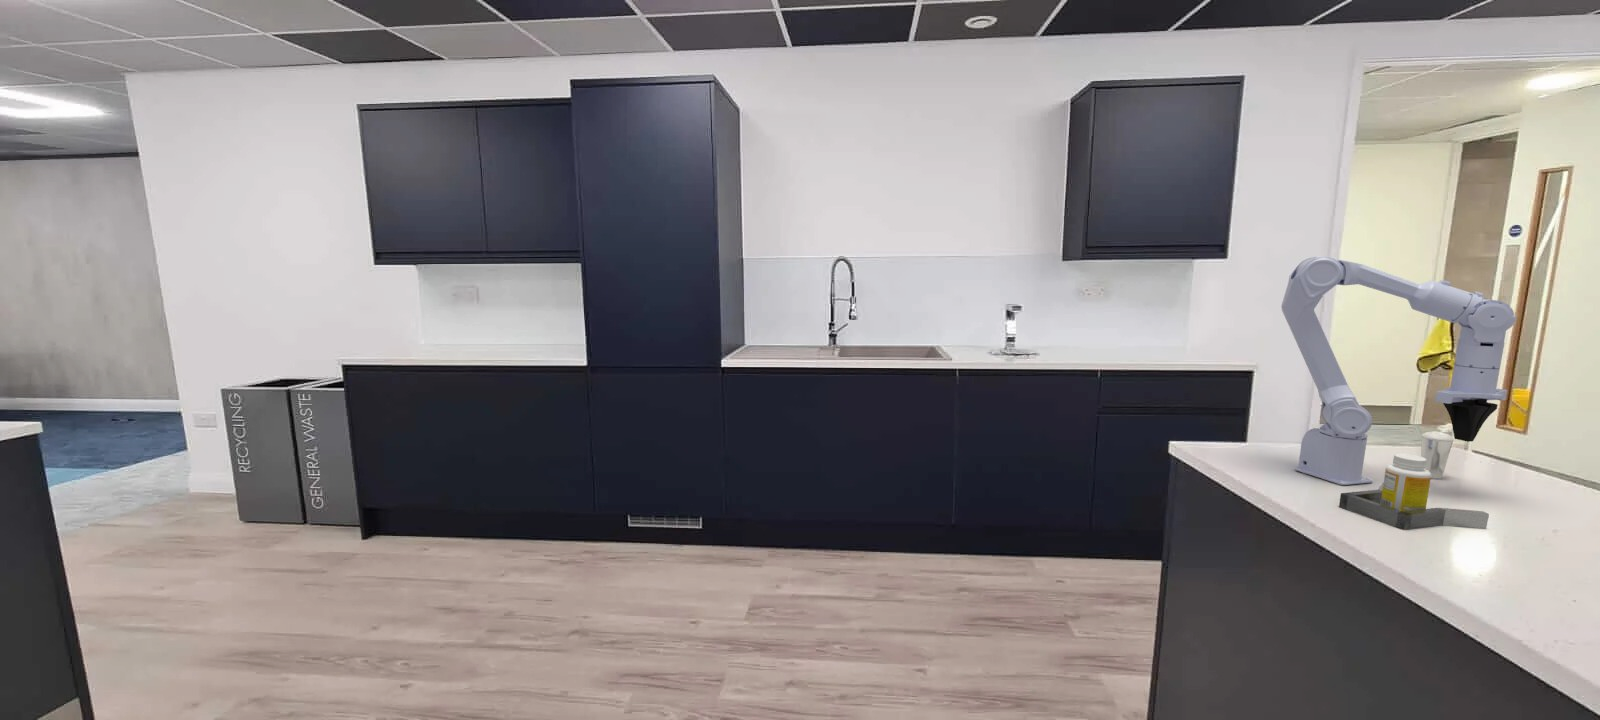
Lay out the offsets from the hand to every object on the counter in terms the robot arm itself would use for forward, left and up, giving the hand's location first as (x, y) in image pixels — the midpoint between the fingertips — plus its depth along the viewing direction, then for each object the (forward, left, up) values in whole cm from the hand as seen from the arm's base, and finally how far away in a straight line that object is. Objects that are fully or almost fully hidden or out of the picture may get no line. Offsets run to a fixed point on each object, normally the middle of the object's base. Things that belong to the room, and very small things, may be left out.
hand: (1463, 440), depth 117 cm
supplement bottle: (+5, -21, -11) cm, 24 cm away
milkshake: (-9, +8, -11) cm, 16 cm away
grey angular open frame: (+5, -21, -10) cm, 24 cm away
